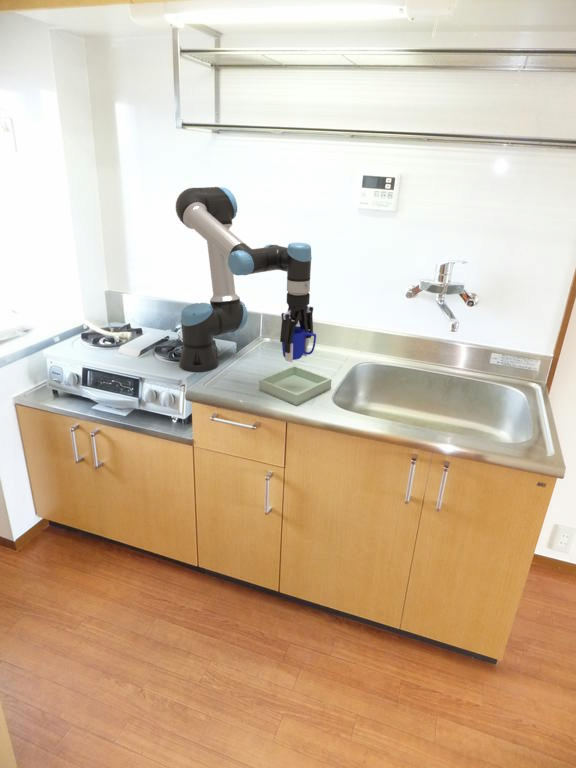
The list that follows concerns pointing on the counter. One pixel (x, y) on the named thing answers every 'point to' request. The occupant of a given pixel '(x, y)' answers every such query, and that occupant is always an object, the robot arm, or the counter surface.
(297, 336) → the mug
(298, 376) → the tray
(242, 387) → the counter surface
